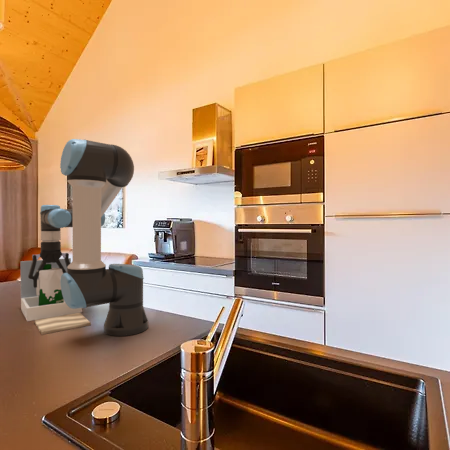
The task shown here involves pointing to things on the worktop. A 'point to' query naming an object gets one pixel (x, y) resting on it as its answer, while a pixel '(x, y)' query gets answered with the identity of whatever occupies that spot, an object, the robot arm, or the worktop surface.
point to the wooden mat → (61, 323)
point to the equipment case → (32, 300)
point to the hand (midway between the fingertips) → (51, 293)
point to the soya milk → (50, 286)
